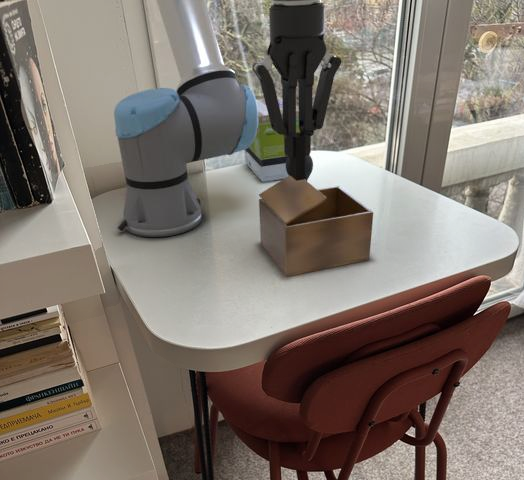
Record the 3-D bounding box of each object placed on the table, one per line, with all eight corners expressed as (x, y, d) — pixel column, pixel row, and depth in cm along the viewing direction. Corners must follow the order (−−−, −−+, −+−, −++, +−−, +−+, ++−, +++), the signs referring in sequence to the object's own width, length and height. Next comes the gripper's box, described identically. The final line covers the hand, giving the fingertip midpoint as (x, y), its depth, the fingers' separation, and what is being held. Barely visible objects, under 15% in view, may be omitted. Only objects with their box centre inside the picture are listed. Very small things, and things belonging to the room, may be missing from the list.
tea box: (243, 163, 137) (239, 99, 128) (281, 158, 139) (280, 95, 130) (261, 183, 125) (258, 114, 116) (302, 177, 127) (303, 109, 118)
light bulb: (297, 206, 113) (297, 157, 107) (280, 198, 117) (279, 150, 111) (318, 199, 116) (319, 151, 110) (301, 192, 119) (301, 145, 113)
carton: (286, 276, 89) (285, 227, 84) (260, 244, 99) (258, 198, 94) (369, 260, 93) (373, 211, 88) (336, 230, 103) (338, 185, 98)
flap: (286, 224, 84) (285, 222, 84) (259, 196, 94) (258, 194, 94) (327, 199, 84) (326, 197, 84) (296, 173, 94) (295, 171, 94)
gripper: (259, 7, 69) (266, 191, 83) (354, 0, 72) (345, 178, 86) (242, 3, 75) (251, 176, 89) (330, -3, 78) (325, 164, 92)
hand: (297, 177), depth 87 cm, fingers closed
